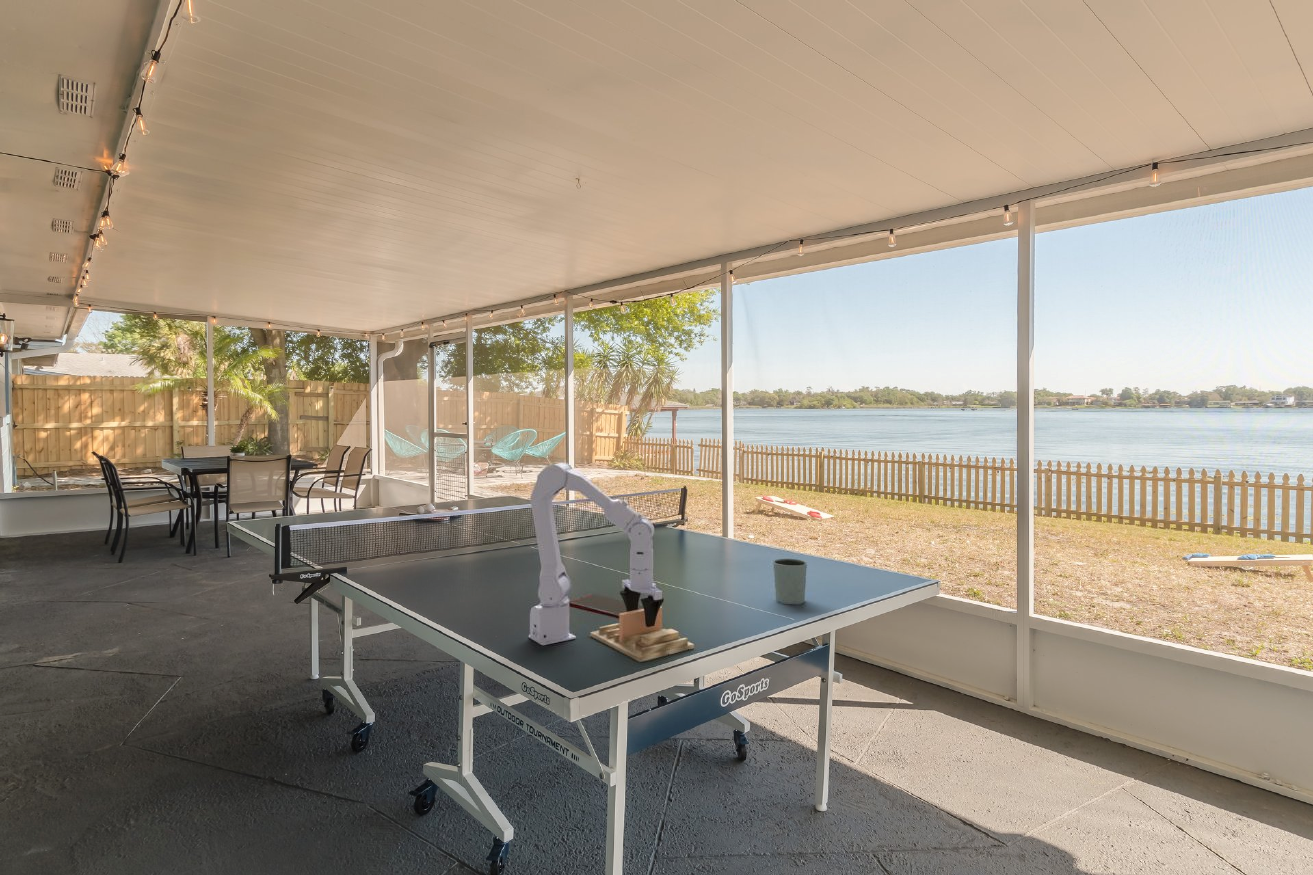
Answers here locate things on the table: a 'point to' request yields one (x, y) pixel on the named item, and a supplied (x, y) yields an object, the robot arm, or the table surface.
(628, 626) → the upright wooden plank
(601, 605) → the dark red board
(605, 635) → the rack
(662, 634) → the offcut upper
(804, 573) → the green cup
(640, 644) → the offcut lower
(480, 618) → the table surface
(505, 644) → the table surface
